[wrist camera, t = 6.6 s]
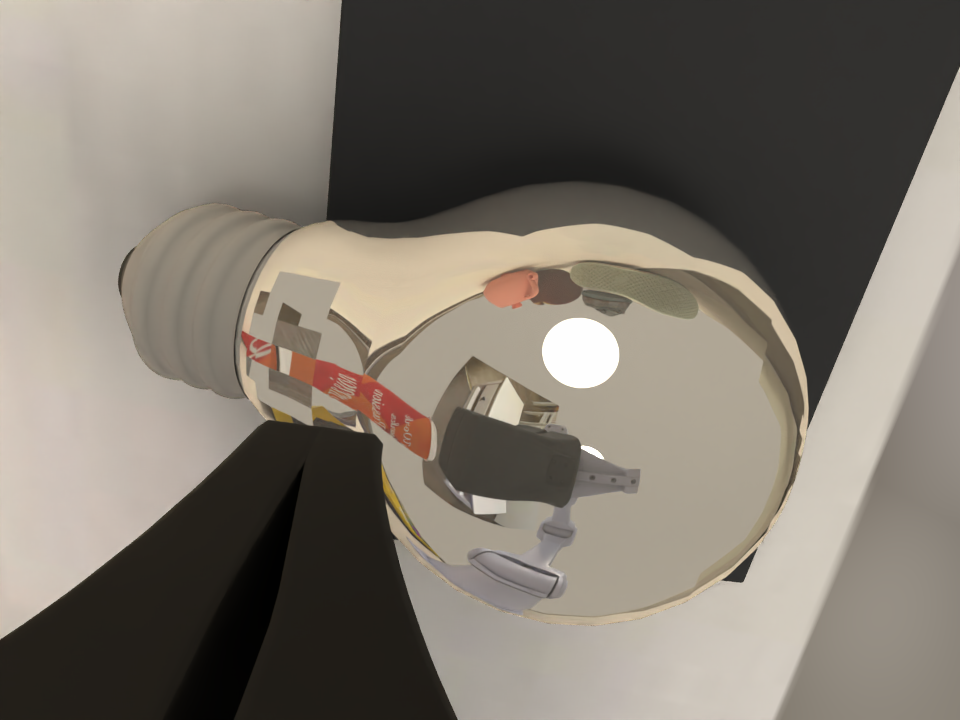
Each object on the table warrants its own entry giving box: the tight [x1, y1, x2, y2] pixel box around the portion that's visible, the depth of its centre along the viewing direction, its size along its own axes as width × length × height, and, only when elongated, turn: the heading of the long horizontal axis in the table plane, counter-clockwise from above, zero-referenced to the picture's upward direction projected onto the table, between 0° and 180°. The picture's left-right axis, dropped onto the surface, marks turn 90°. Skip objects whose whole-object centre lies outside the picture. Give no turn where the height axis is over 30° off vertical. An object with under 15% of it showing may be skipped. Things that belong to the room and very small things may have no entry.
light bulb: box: [118, 180, 809, 626], centre depth 14 cm, size 7×7×12 cm
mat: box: [327, 0, 960, 583], centre depth 16 cm, size 16×11×1 cm
